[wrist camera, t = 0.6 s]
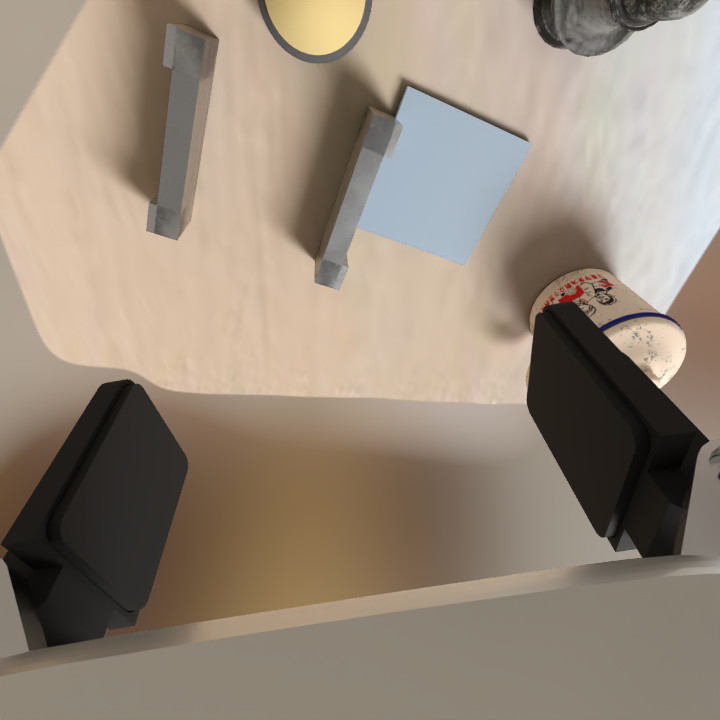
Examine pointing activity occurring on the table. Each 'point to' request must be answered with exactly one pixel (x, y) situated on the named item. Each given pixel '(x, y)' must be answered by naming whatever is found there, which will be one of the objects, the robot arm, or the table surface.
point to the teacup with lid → (620, 320)
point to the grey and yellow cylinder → (316, 26)
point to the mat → (441, 178)
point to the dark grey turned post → (602, 21)
